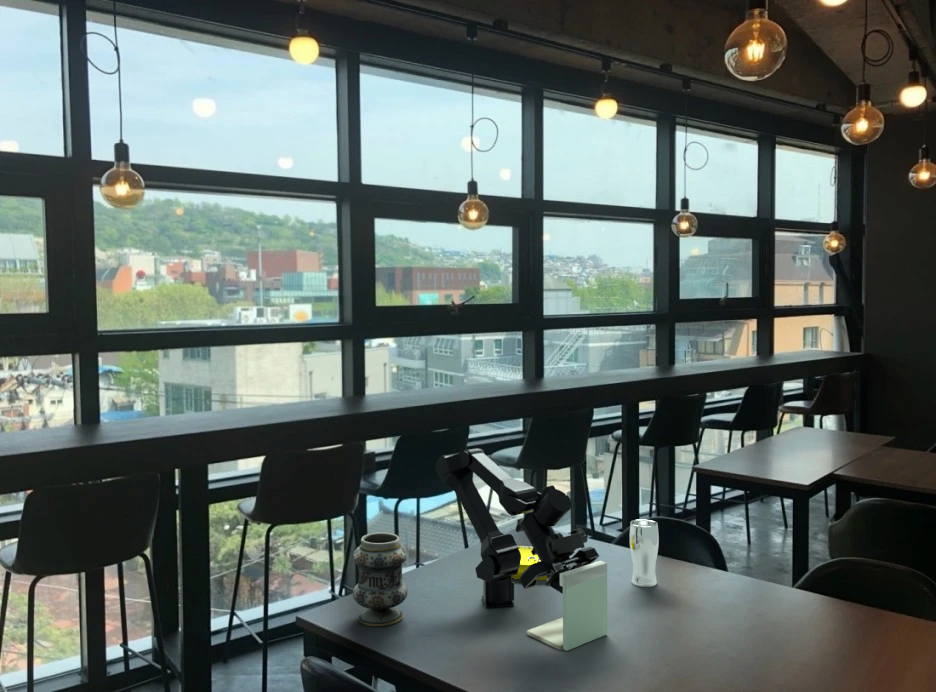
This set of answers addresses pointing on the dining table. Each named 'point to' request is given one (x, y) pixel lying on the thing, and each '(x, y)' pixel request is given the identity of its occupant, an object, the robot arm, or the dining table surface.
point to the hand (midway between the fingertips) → (581, 603)
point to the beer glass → (644, 551)
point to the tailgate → (584, 604)
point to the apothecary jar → (380, 578)
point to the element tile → (527, 561)
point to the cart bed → (549, 633)
